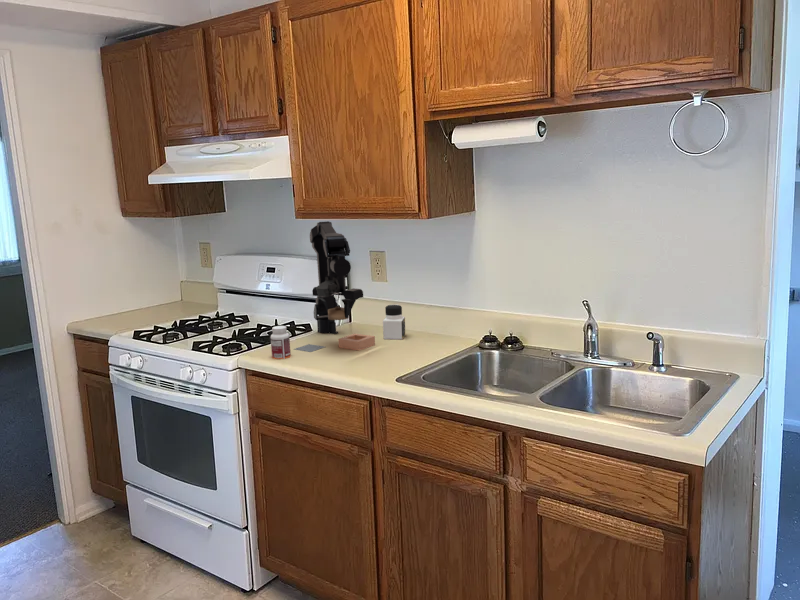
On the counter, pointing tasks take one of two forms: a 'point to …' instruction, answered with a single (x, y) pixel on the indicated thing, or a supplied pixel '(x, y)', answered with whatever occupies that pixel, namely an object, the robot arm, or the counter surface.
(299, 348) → the coaster mat
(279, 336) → the pill bottle
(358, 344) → the salmon pink square box
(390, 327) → the medicine bottle
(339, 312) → the walnut lid
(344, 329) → the counter surface
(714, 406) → the counter surface
